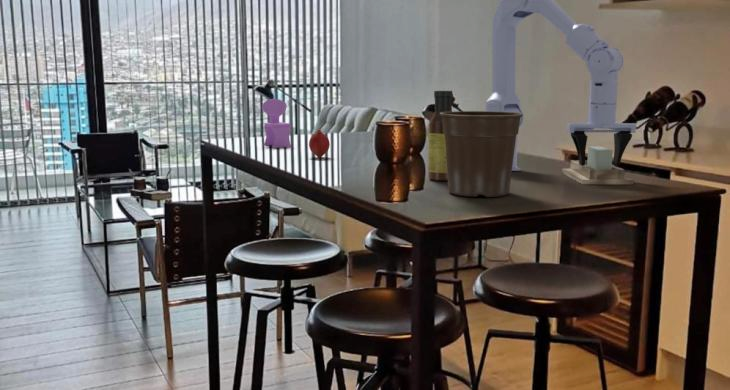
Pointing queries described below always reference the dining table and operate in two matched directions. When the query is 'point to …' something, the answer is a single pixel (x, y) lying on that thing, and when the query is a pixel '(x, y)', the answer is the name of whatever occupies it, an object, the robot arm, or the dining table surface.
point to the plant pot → (480, 151)
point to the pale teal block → (599, 158)
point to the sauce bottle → (438, 137)
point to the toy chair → (276, 124)
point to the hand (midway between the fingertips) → (599, 165)
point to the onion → (319, 143)
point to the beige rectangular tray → (596, 174)
